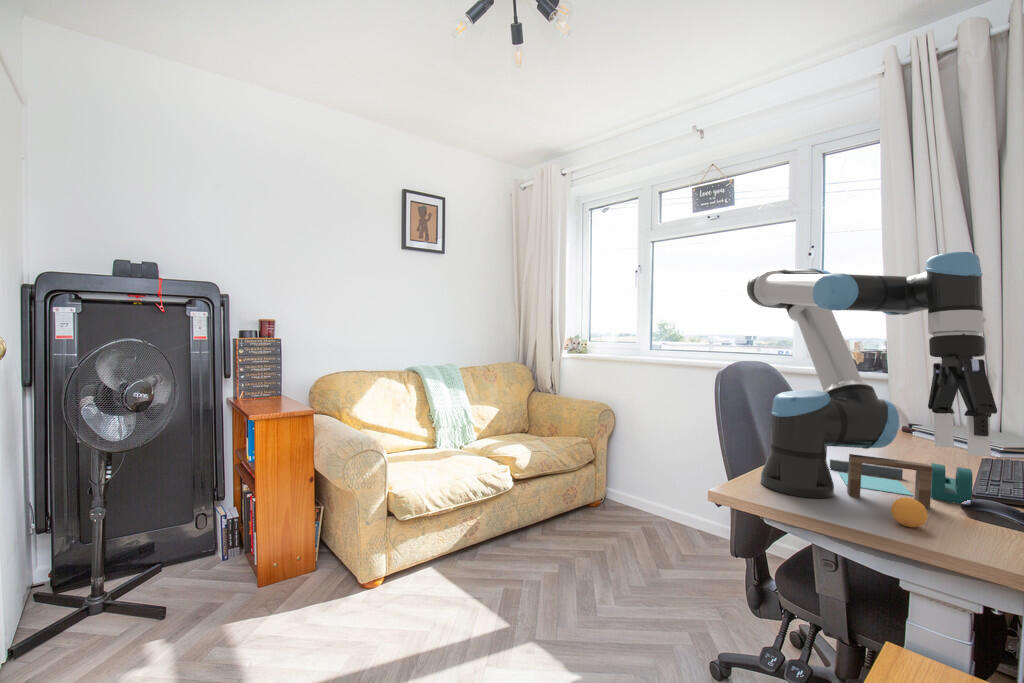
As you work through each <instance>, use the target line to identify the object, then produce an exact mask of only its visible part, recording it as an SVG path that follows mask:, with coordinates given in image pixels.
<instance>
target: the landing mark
mask: <svg viewBox="0 0 1024 683" xmlns="http://www.w3.org/2000/svg"><path fill="white" fill-rule="evenodd" d="M837 473H838V474H840V475H839V476H840V478H841V479H842V481H843V482H844V485H846V487H847V486H848V472H847V473H846V472H842V471H838V472H837ZM860 489H864V490H871V491H878V492H884V493H892V494H897V495H898V494H899V495H903V496H911V497H914V494H913V493H911V491H910V490H909V489H907V487H906V486H905V485H904V484H902V483H901V481H900V480H898V479H897V480H894V479H891V478H889V479H888V478H883V477H877V476H876V477H875V476H870V475H869V476H867V475H863V474H861V487H860Z"/></svg>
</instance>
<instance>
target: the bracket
mask: <svg viewBox="0 0 1024 683" xmlns="http://www.w3.org/2000/svg"><path fill="white" fill-rule="evenodd" d="M930 466H932V483H931V498H933V499H932V500H936V499H938V500H937V501H941V500H943V501H942V502H946V501H948V502H947V503H952V502H955V503H954V504H957V503H959V505H962V504H961V503H962V502H964V501H967V500H972V498H973V470H972V468H967V467H966V468H965V467H961V466H959V467H958V466H957V467H956V471H955V478H953V477H950V476H949V477H948V476H946V464H940V463H935V462H934V463H933V462H932V463H931V464H930ZM972 501H973V500H972Z"/></svg>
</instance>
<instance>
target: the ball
mask: <svg viewBox="0 0 1024 683" xmlns="http://www.w3.org/2000/svg"><path fill="white" fill-rule="evenodd" d="M890 507H891V508H890V512H891V515H892V517H893V518H894V519H895V521H896V522H898V523H899V524H900V525H903V526H905V527H908V528H919V527H921V526H923V525H924V524H925V523H926V522H928V510H927V508H925V507H924V506H923V505H922V504H921V503H920V502H919V501H917V500H915V499H914V498H912V497H900V498H898V499H895V500H894V501H893V502H892V504H891V506H890Z"/></svg>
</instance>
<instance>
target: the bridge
mask: <svg viewBox="0 0 1024 683" xmlns="http://www.w3.org/2000/svg"><path fill="white" fill-rule="evenodd" d="M848 462H849V468H848V472H847V473H848V486H846V487H847V488H846V489H847V490H846V492H847V495H848V496H849V497H854V498H860V497H861V488H860V487H861V475H862V474H861V470H862V463H863V464H871V465H878V466H886V467H893V468H901V469H902V470H911V471H915V481H914V482H915V483H914V485H915V486H914V496H913V497H914V498H913V499H915V500H917V501H919V502H920V503H921V504H922V505H923V506H924V507H925V508H926V509H928V508H930V509H931V500H932V499H931V483H932V466H931V464H929V463H923V462H915V461H910V460H909V461H908V460H902V459H893V458H886V457H885V458H884V457H877V456H876V457H875V456H868V455H861V454H852V453H849V454H848Z"/></svg>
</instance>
